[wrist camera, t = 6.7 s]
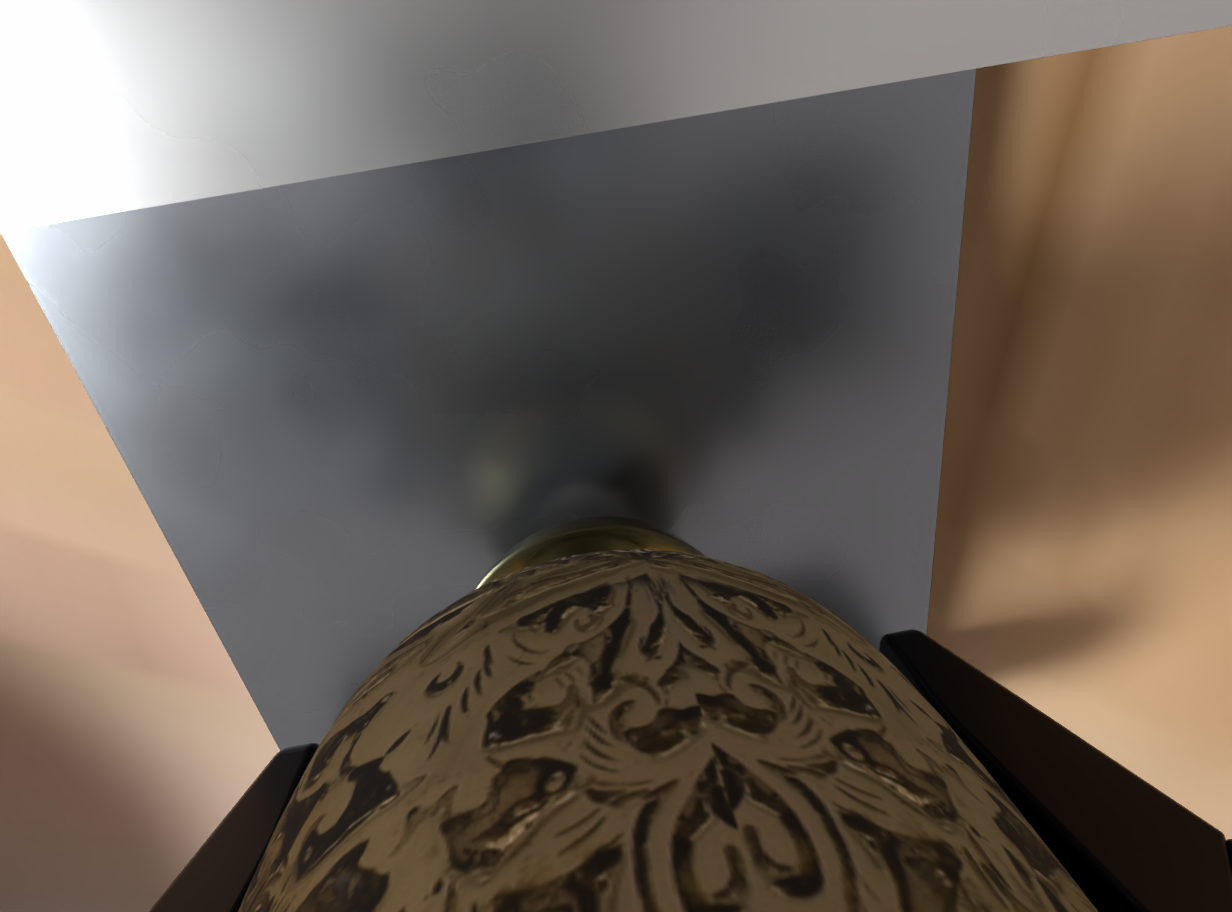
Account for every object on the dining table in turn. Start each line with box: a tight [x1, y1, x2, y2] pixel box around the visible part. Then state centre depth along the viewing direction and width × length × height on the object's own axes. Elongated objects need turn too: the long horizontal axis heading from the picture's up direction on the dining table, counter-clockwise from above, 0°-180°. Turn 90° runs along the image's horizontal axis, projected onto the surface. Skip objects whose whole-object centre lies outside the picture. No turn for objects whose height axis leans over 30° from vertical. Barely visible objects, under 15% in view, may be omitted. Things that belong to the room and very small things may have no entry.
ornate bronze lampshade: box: [238, 516, 1098, 912], centre depth 7 cm, size 8×7×8 cm
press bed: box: [1, 69, 976, 751], centre depth 10 cm, size 11×15×6 cm
